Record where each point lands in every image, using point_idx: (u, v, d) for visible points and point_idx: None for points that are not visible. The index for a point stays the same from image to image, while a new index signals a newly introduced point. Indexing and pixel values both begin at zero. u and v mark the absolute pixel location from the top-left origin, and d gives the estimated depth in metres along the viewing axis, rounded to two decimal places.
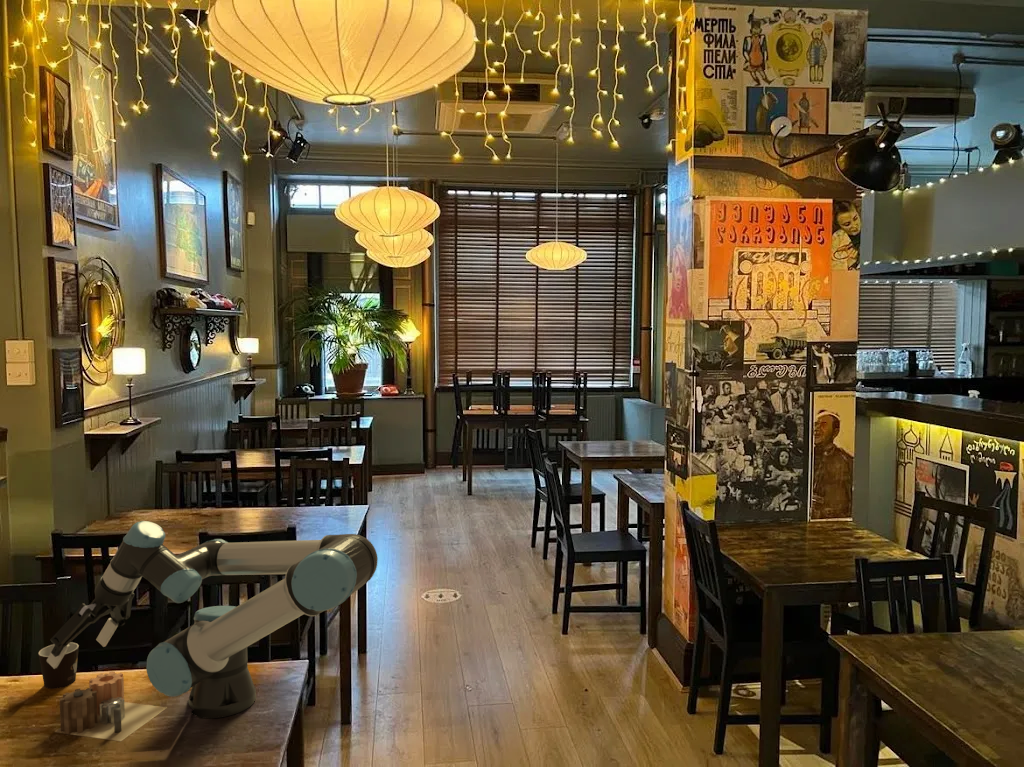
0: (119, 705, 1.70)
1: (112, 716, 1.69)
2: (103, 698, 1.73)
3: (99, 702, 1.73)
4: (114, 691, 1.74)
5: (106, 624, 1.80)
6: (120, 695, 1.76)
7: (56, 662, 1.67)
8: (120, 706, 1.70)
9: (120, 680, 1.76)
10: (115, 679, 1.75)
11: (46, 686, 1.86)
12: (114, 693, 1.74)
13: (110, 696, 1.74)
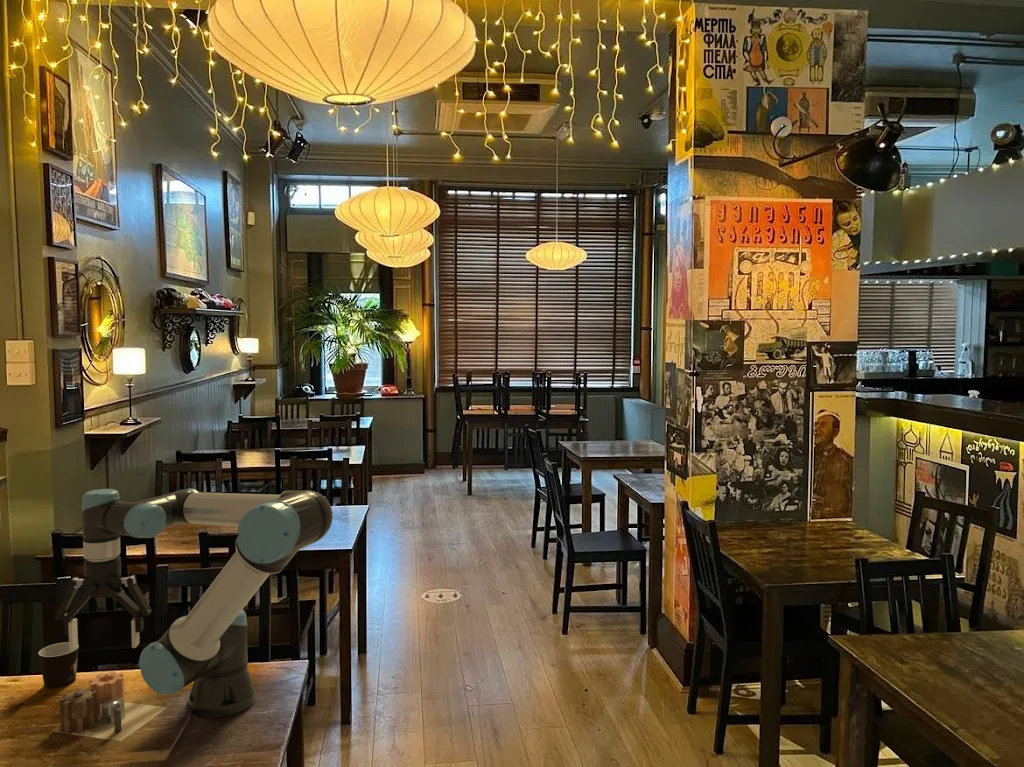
0: (119, 705, 1.70)
1: (112, 716, 1.69)
2: (103, 698, 1.73)
3: (99, 702, 1.73)
4: (114, 691, 1.74)
5: None
6: (120, 695, 1.76)
7: None
8: (120, 706, 1.70)
9: (120, 680, 1.76)
10: (115, 679, 1.75)
11: (46, 686, 1.86)
12: (114, 693, 1.74)
13: (110, 696, 1.74)
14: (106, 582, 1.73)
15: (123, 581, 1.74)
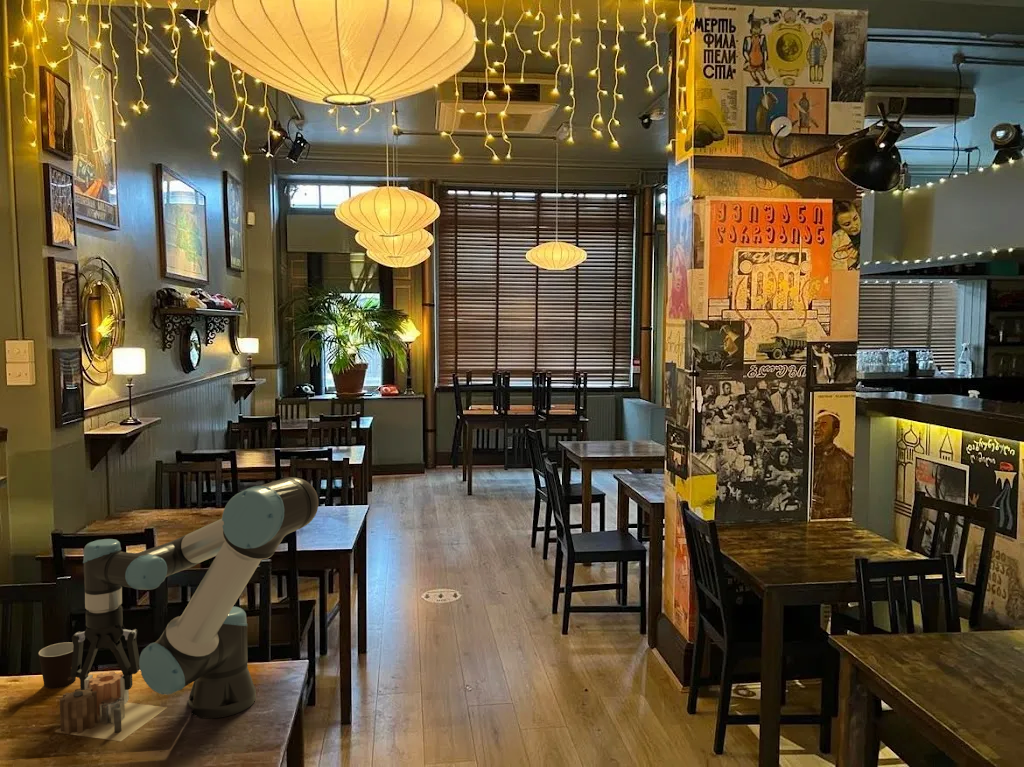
0: (119, 705, 1.70)
1: (112, 716, 1.69)
2: (103, 698, 1.73)
3: (99, 702, 1.72)
4: (114, 691, 1.74)
5: None
6: (120, 695, 1.76)
7: None
8: (120, 706, 1.70)
9: None
10: (115, 679, 1.75)
11: (46, 686, 1.86)
12: (114, 693, 1.74)
13: (110, 696, 1.74)
14: (109, 632, 1.74)
15: (124, 633, 1.75)
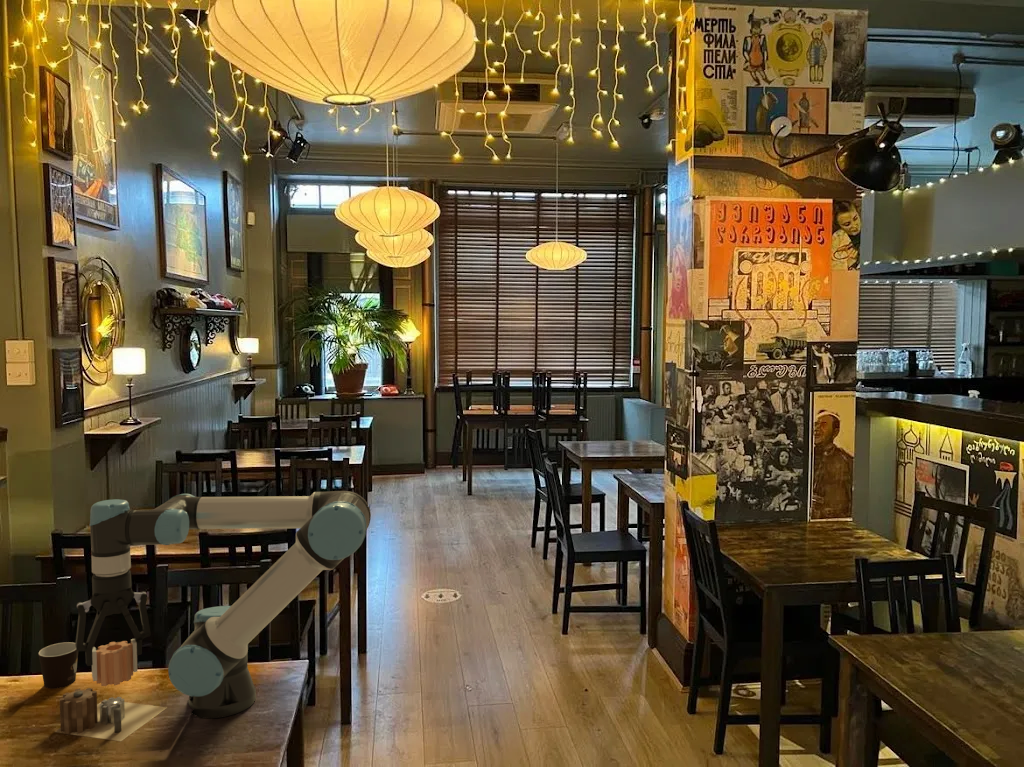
0: (119, 705, 1.70)
1: (112, 716, 1.69)
2: (119, 666, 1.63)
3: (115, 671, 1.63)
4: (129, 657, 1.65)
5: None
6: (131, 662, 1.67)
7: (93, 673, 1.63)
8: (120, 706, 1.70)
9: (131, 646, 1.67)
10: (125, 646, 1.66)
11: (46, 686, 1.86)
12: (128, 659, 1.65)
13: (125, 663, 1.65)
14: (120, 597, 1.65)
15: (135, 596, 1.67)
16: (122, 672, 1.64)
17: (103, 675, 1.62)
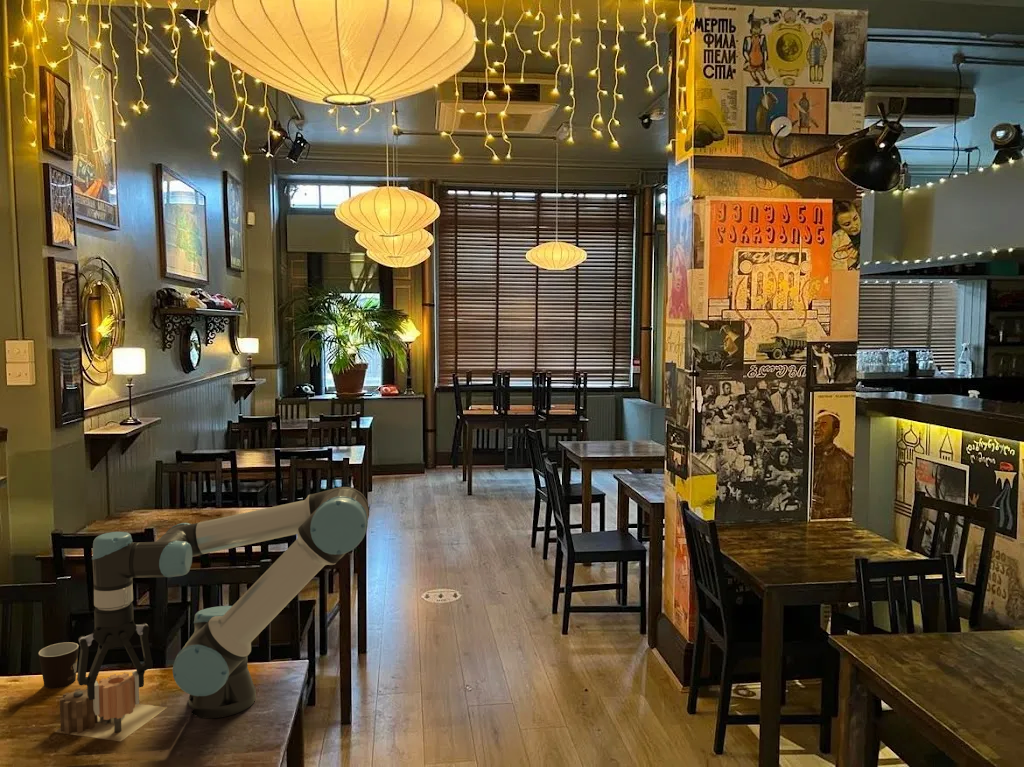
0: None
1: None
2: (121, 699, 1.63)
3: (118, 704, 1.62)
4: (131, 690, 1.65)
5: None
6: (132, 694, 1.67)
7: (95, 707, 1.62)
8: None
9: (133, 679, 1.67)
10: (127, 678, 1.66)
11: (46, 686, 1.86)
12: (131, 692, 1.65)
13: (127, 696, 1.64)
14: (123, 630, 1.64)
15: (137, 628, 1.67)
16: (124, 705, 1.64)
17: (106, 709, 1.62)
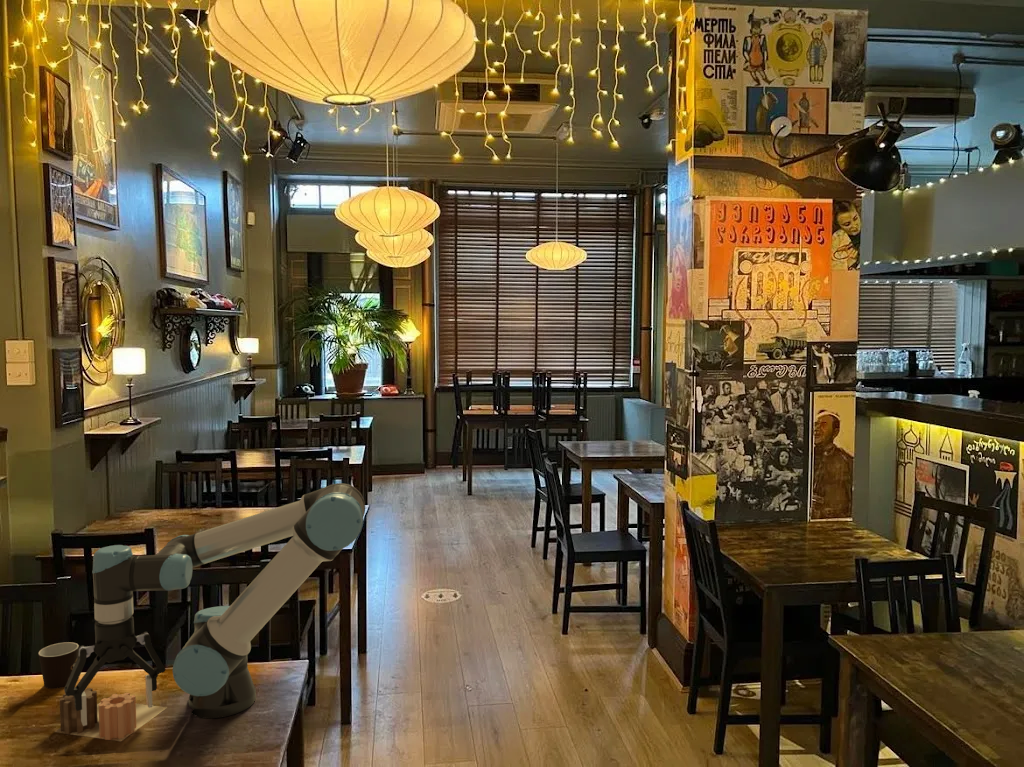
0: None
1: None
2: None
3: (119, 724, 1.63)
4: (132, 710, 1.65)
5: None
6: (134, 714, 1.67)
7: (82, 718, 1.61)
8: None
9: (134, 698, 1.67)
10: (129, 698, 1.66)
11: (46, 686, 1.86)
12: (132, 712, 1.65)
13: (128, 716, 1.65)
14: (122, 643, 1.64)
15: (138, 639, 1.67)
16: (126, 725, 1.64)
17: (107, 729, 1.62)
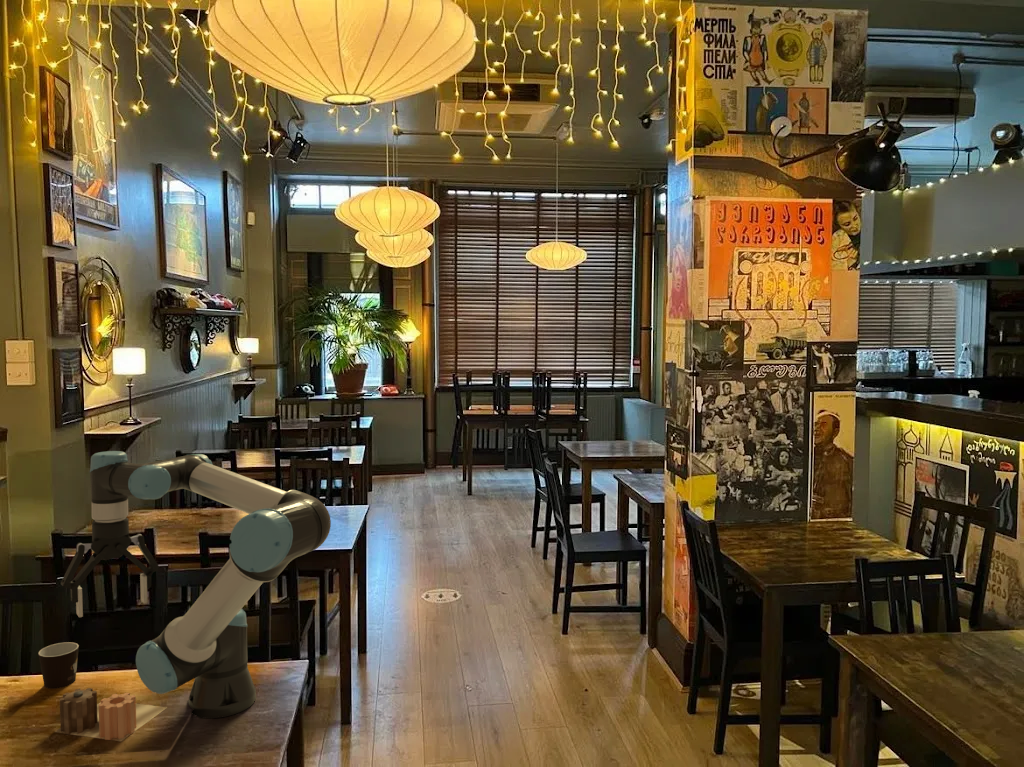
0: None
1: None
2: None
3: (119, 724, 1.63)
4: (132, 710, 1.65)
5: (140, 580, 1.80)
6: (134, 714, 1.67)
7: (78, 610, 1.70)
8: None
9: (134, 698, 1.67)
10: (129, 698, 1.66)
11: (46, 686, 1.86)
12: (132, 712, 1.65)
13: (128, 716, 1.65)
14: (117, 542, 1.75)
15: (133, 540, 1.77)
16: (126, 725, 1.64)
17: (107, 729, 1.62)
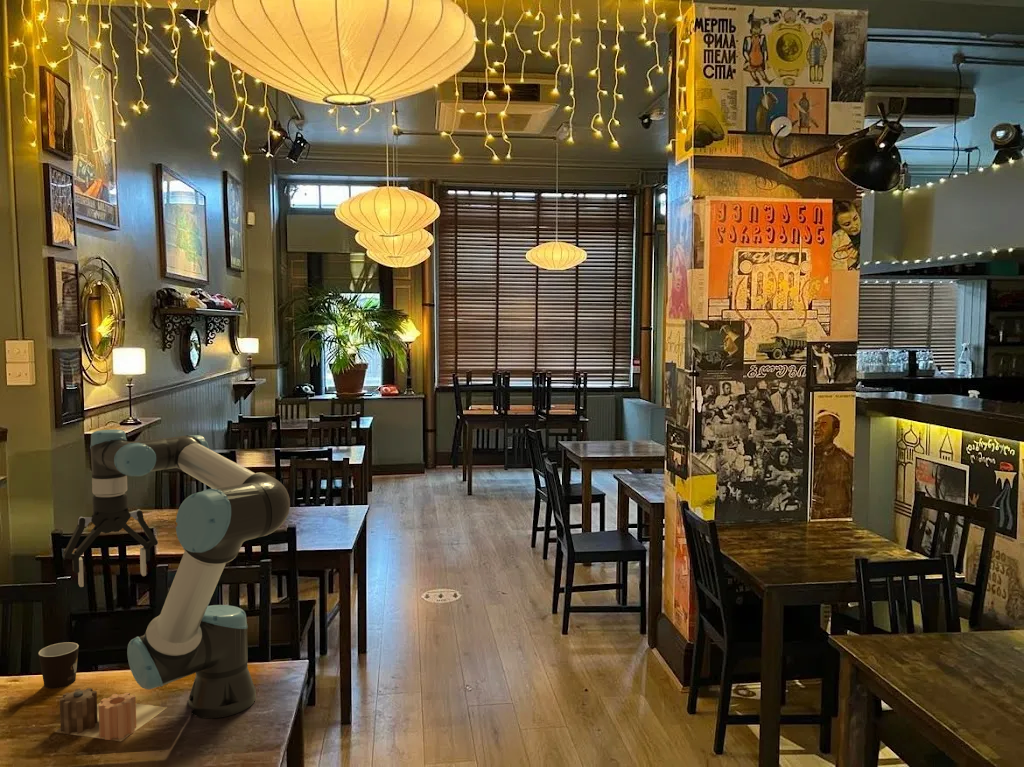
0: None
1: None
2: None
3: (119, 724, 1.63)
4: (132, 710, 1.65)
5: (140, 553, 1.88)
6: (134, 714, 1.67)
7: (79, 580, 1.79)
8: None
9: (134, 698, 1.67)
10: (129, 698, 1.66)
11: (46, 686, 1.86)
12: (132, 712, 1.65)
13: (128, 716, 1.65)
14: (117, 516, 1.83)
15: (132, 514, 1.86)
16: (126, 725, 1.64)
17: (107, 729, 1.62)
